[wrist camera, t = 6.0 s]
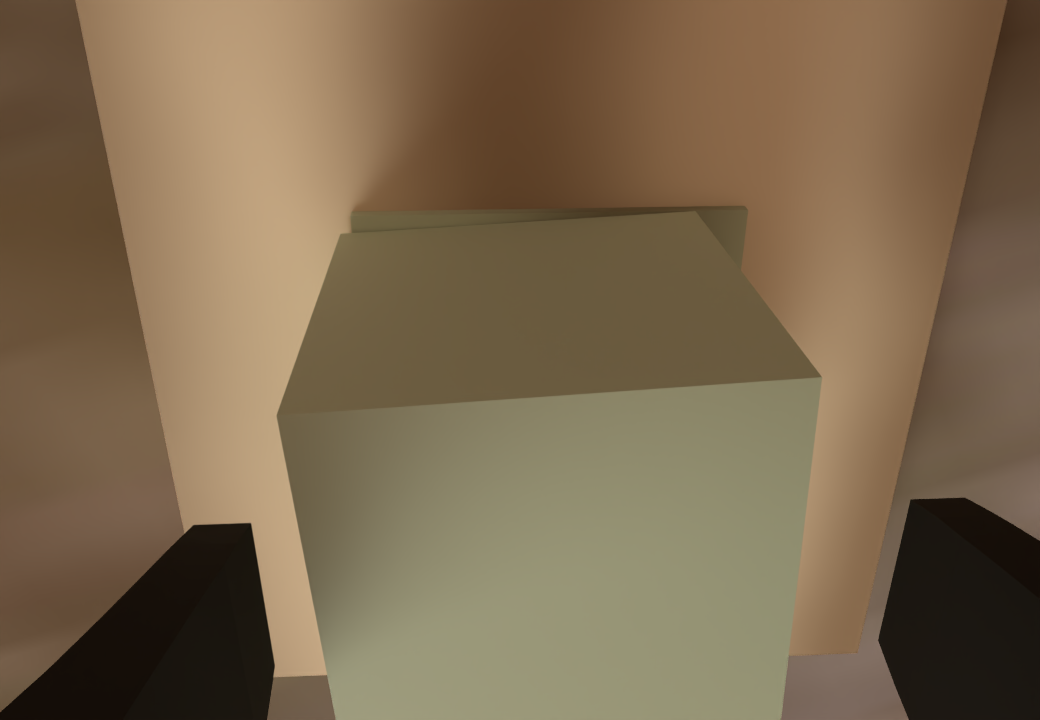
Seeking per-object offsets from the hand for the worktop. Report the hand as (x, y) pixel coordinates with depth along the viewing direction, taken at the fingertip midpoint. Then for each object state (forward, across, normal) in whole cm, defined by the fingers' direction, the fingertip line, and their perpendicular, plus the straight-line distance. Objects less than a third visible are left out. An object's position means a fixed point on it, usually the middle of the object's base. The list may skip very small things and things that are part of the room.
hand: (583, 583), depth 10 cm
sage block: (+4, 0, 0) cm, 4 cm away
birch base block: (+8, 0, 0) cm, 8 cm away
